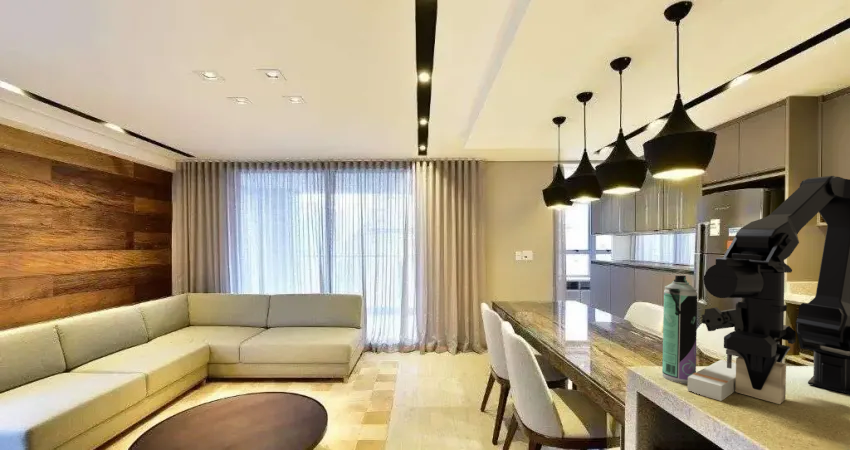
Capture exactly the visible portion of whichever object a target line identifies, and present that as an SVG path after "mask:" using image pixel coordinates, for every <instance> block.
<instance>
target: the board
mask: <svg viewBox="0 0 850 450" xmlns="http://www.w3.org/2000/svg"><path fill="white" fill-rule="evenodd" d="M735 388H736V362H733V361H732V368H727V360H723V359H720V360H718V361H715V362H714V363H711V364H710V365H708V366H706V367H704V368H702V369H700V370H697V371H696V373H693V374H692V375H690V376H689V377H688V383H687V390H688V391H687V392H689V391H692V392H694V393H693V394H696V393H697V395H699V394H700V396H703V397H707V398H709V399H714V400H717V401H719V402H722V401H723V400H725V399H726V398H727V397H729V396H730V395H732V394H733V393H735ZM692 392H691V393H692Z"/></svg>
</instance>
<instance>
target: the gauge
mask: <svg viewBox="0 0 850 450" xmlns="http://www.w3.org/2000/svg"><path fill="white" fill-rule="evenodd" d="M725 355H726V361H727V368H732V362H733V357H736V358H735V361H736V362H735V363H736V388H735V391H734V393H738V394H742V395H745V396H749V397H752V398H756V399H760V400H763V401H766V402H769V403H770V402H771V403H773V404H777V405H781V404H782V403H783V402H784V401H785V400H786V394H787V393H786V389H787V385H786V384H787V381H786V380H787V363H783V362H781V363H780V362H776V363H775V365H774V367H773V369H772V371H771V372H770V374H769V376H768V378H767V380H766V382H765V384H764V386H763V387H762V389H761V390H756V389H753V387H752V384H751V381H750V377H749V374H748V371H747V367H746V364H745V361H744V359H743V357H742V356H741V355H740V354H739V353H737V352H736V351H734V350H730V349H726V348H725ZM732 356H733V357H732Z"/></svg>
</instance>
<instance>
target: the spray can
mask: <svg viewBox="0 0 850 450" xmlns="http://www.w3.org/2000/svg"><path fill="white" fill-rule="evenodd" d="M686 276H687V275H675V276H674V277H675V279H673V280H672V282H671V283H669V284H668V285H665V286H664V291H663V321H662V322H663V323H662V324H663V327H662V328H663V329H662V330H663V331H662V369H661V370H662V371H661V372H662V373H661V375H662V377H663V378H665V379H666V380H669V381H671V382H675V383H679V382H681V383H680V384H688V377H689V376H690V375H692V374H693V373H696V372H697V371H696V370H697V331H698V330H697V327H698V326H697V325H698V318H697V317H698V293H697V291H698V289H697V288H695V287H694V286H692V285H691V284H690V282H689V281H688V280H687V277H686Z"/></svg>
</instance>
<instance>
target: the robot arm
mask: <svg viewBox="0 0 850 450" xmlns="http://www.w3.org/2000/svg"><path fill="white" fill-rule="evenodd" d="M818 213H819V215H820V216H821V218H822V219H823V220H824V222H825V224H826V230H825V231H826V233H825V237H824V238H825V239H824V243H823V250H822V256H821V262H820V267H819V268H820V269H819V273H818V280H817V285H816V292H815V296H814V298H812V299H811V300H809V302H808V303H806V302H802V303H801V304H800V305H799V306H798V315H797V319H796V321H795V329H793V328H792V327H791V326H790V325H785V324H784V320H785V319H784V318H785V313H784V312H786V311H787V309H788V304H785V273H786V274H788V273H789V274H790V273H792V272H793V269H792V267H790V266H789V265H788V264H786V263H785V262H784V260H787V259H788V258H790V256H792V254H793V252H794V251H795V249H796V248H797V247H798V246H799V244H800V240H799V236H798V235H799V233H800V232H801V230H802V229H803V228H804V227H805V226H806V225H807V224H808V223H809V222H810V221H811V220H812V219H813V218H814V217H815V216H816V215H817V214H818ZM703 285H704V287H705V289H706V291H707V292H708V293H709V294H710V295H712V297H715V298H719V299H741V300H740V301H737V302H736V304H735V308H730V309H724V310H721V309H720V308H718V307H717V306H716V307H711V308H706V309H704V313H703V314H701V317H702V319H701V324H703V325H705V326H706V330H707V332H715V331H716V330H722V329H730V328H731V329H732V328H734V329H733V330H734V331H731V332H729V333H727V334H726V335H724V337H723V349H725V350H726V349H730V350H734V351H736V352H737V353H739V354H740V355H741V356H742V357H743V359H744V361H745V364H746V367H747V371H748V374H749V377H750V381H751V384H752V387H753V389H756V390H761V389H762V387H763V386H764V384H765V382H766V380H767V378H768V376H769V374H770V372H771V371H772V369H773V367H774V365H775V363H776V362H780V363H783V360H784V358H785V357H786V355H787V354H788V352H789V351H790V349H791V346H789V345H784V344H781V343H780V340H783V341H787V343H788V344H791V345H793V344H795V343H796V342H797V341H796V339H798V343H799V348H800V349H803V350H808V351H813V376H812V377H811V378H810V379H809V380H808V382H807V384H808V385H810V386H815V387H818V388H823V389H827V390H831V391H835V392H839V393H843V394H844V393H845V394H848V395H850V179H849V178H843V177H841V176H835V175H827V176H818V177H808V178H806V179H803V180H801V181H800V183H799V187H798V188H796V190H795V191H794V192H792V194H790V196H788V197H787V198H786V199H785V200H784V201H783V202H782V203H781V204H780V205H778V206H777V208H776V209H774V210H773V211H772V212H771V213H770V214H768V215H767V216H766V217H763V218H759V219H756V220H753V221H751V222H749V223H747V224H745V225H744V226H742V227H741V228H739V229H738V230H737V232H736V234H735V237H734V238H733V240H732V241H731V243H730V245H729V247H728V248H727V249H726V251H725V253H724V255H723V256H722V257H716V258H715V264H713V265H711V266H709V268H707V270H706V272H705V274H704V275H703ZM796 335H797V336H796Z"/></svg>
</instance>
